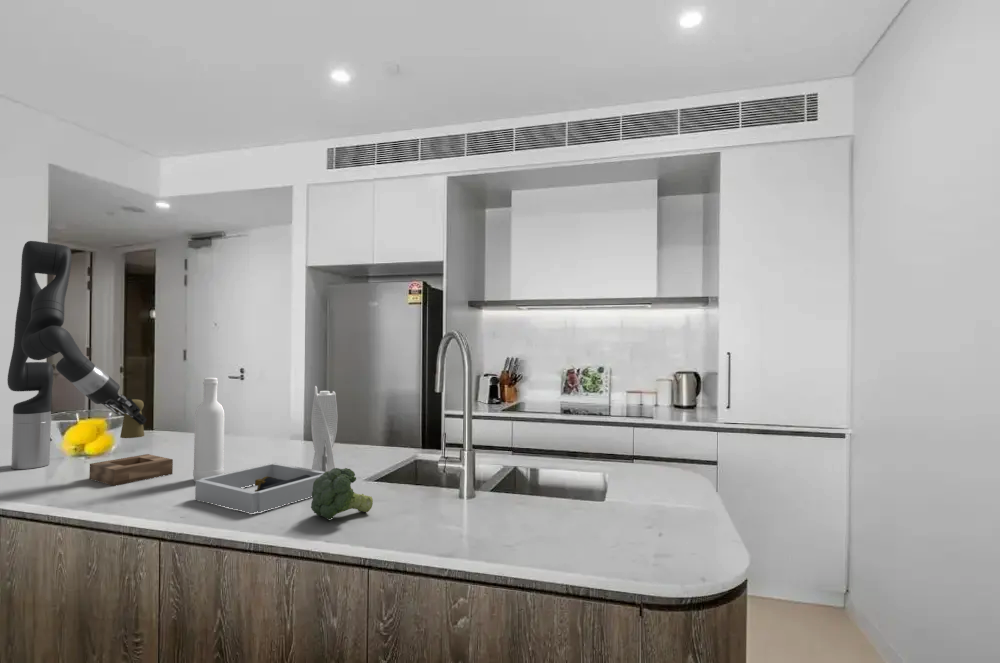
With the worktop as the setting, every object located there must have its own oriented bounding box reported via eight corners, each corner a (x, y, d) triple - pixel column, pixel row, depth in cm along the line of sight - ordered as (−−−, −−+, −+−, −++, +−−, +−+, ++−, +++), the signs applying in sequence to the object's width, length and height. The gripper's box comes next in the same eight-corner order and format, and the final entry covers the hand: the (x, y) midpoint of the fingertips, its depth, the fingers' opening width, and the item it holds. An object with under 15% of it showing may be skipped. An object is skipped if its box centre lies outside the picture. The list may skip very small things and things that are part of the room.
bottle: (227, 479, 160) (229, 378, 160) (198, 484, 154) (201, 379, 154) (217, 474, 165) (219, 376, 166) (189, 479, 159) (191, 377, 160)
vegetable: (382, 512, 124) (322, 491, 118) (352, 542, 129) (294, 523, 122) (384, 471, 134) (329, 450, 127) (356, 500, 139) (302, 481, 132)
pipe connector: (237, 482, 138) (283, 469, 152) (237, 503, 138) (282, 488, 152) (271, 488, 133) (314, 475, 147) (270, 510, 133) (314, 494, 147)
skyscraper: (301, 482, 158) (303, 386, 158) (320, 475, 165) (322, 384, 166) (324, 485, 155) (326, 387, 155) (343, 478, 162) (344, 385, 163)
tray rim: (193, 499, 139) (193, 480, 139) (273, 479, 160) (273, 462, 161) (254, 515, 127) (254, 494, 128) (331, 491, 149) (332, 473, 149)
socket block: (89, 479, 158) (89, 463, 158) (147, 468, 172) (147, 454, 172) (114, 485, 151) (114, 469, 151) (172, 474, 165) (172, 459, 165)
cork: (135, 438, 158) (136, 400, 159) (115, 438, 159) (116, 400, 159) (149, 434, 164) (150, 398, 165) (129, 434, 165) (130, 398, 165)
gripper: (119, 375, 152) (162, 413, 162) (93, 373, 159) (136, 410, 169) (97, 395, 147) (143, 434, 158) (72, 392, 154) (117, 429, 165)
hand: (139, 421), depth 163 cm, fingers closed on cork, 4 cm apart
